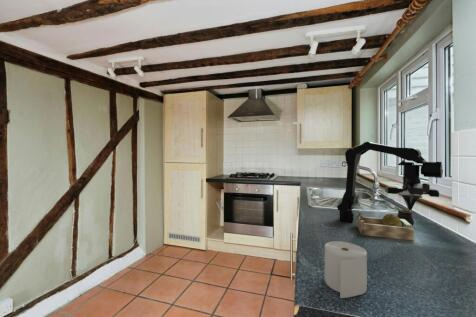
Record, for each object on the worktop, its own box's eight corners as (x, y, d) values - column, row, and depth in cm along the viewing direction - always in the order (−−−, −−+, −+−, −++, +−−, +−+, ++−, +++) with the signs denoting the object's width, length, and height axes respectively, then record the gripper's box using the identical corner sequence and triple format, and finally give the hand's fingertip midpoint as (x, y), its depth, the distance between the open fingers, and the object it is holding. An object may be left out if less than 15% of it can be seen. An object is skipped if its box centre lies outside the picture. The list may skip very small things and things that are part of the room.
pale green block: (406, 238, 95) (406, 224, 95) (399, 231, 104) (399, 218, 104) (413, 239, 94) (413, 225, 94) (405, 231, 104) (405, 219, 103)
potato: (379, 234, 99) (379, 217, 99) (383, 227, 109) (383, 211, 109) (402, 239, 94) (402, 220, 94) (404, 231, 104) (404, 214, 104)
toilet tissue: (352, 273, 67) (353, 240, 67) (379, 299, 55) (379, 259, 55) (318, 274, 67) (318, 241, 66) (337, 300, 55) (337, 260, 54)
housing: (361, 234, 100) (361, 217, 100) (357, 225, 112) (357, 210, 112) (413, 240, 93) (413, 221, 93) (403, 230, 105) (403, 214, 105)
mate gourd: (418, 229, 107) (417, 208, 107) (402, 229, 108) (402, 209, 107) (407, 224, 115) (406, 205, 114) (392, 224, 115) (392, 205, 115)
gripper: (391, 176, 95) (390, 212, 95) (446, 179, 88) (445, 217, 89) (385, 174, 105) (383, 206, 106) (433, 176, 98) (432, 210, 99)
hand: (409, 210), depth 99 cm, fingers closed
